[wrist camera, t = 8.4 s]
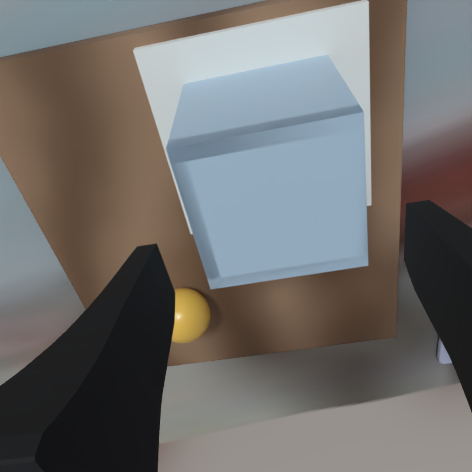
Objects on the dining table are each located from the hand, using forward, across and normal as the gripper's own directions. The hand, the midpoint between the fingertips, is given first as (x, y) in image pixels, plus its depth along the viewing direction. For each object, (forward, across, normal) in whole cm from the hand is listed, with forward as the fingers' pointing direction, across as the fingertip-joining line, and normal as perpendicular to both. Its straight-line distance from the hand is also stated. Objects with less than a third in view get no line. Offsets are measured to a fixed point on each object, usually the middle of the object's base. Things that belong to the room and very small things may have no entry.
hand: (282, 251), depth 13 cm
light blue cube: (+8, 0, 0) cm, 8 cm away
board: (+9, +3, +5) cm, 11 cm away
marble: (+7, +6, +9) cm, 13 cm away
